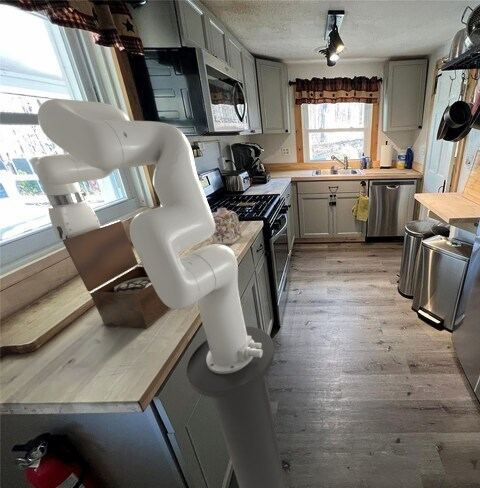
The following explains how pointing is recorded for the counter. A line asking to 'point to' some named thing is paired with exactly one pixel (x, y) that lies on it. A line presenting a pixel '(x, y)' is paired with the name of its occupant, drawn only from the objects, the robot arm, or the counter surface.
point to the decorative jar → (226, 227)
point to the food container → (132, 285)
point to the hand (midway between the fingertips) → (91, 255)
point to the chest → (129, 302)
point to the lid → (101, 254)
